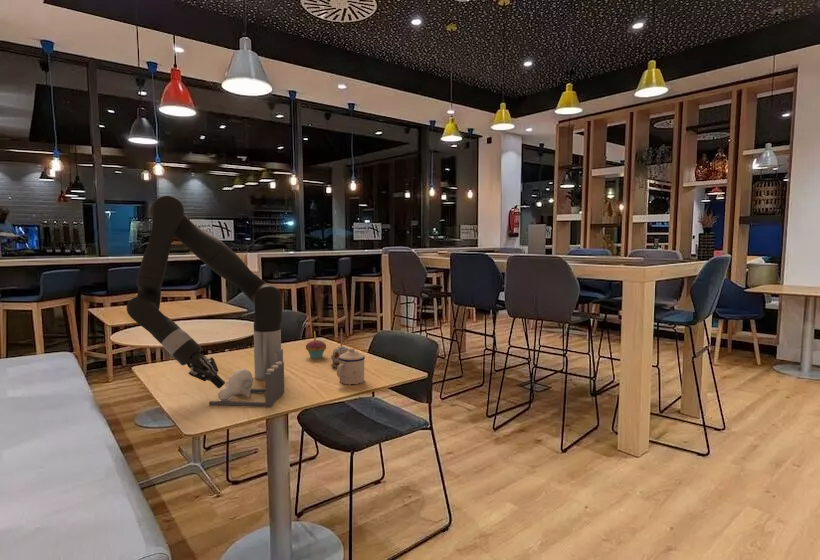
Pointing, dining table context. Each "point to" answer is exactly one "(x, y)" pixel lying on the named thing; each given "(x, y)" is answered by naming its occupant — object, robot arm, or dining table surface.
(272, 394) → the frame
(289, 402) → the dining table surface
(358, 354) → the teacup with lid
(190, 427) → the dining table surface
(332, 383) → the dining table surface
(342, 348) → the decorative ornament
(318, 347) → the cupcake
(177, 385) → the dining table surface
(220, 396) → the cream figurine
